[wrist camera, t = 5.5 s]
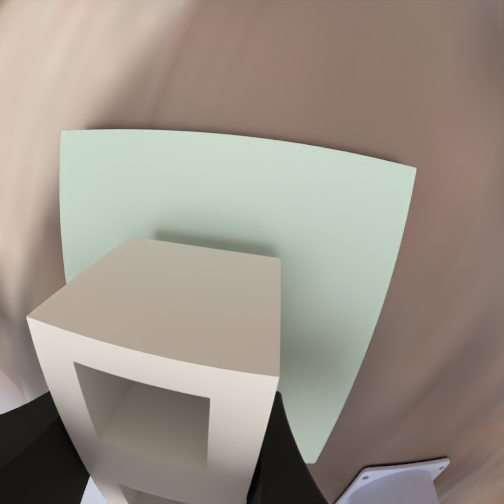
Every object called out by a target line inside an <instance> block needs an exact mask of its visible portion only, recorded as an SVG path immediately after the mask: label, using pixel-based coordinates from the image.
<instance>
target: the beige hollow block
mask: <svg viewBox="0 0 504 504" xmlns="http://www.w3.org/2000/svg"><path fill="white" fill-rule="evenodd" d="M26 317H27V321H28V325H29V328H30V332H31V336H32V339H33V343H34V346H35V349H36V353H37V356H38V359H39V362H40V365H41V368H42V371H43V374H44V376H45V379H46V382H47V385H48V387H49V390H50V393H51V395H52V398H53V400H54V403H55V405H56V407H57V410H58V412H59V414H60V417H61V419H62V421H63V423H64V426H65V428H66V430H67V432H68V434H69V436H70V438H71V440H72V442H73V444H74V446H75V448H76V450H77V452H78V454H79V456H80V458H81V460H82V462H83V463H84V465H85V467H86V469H87V471H88V472H89V474H90V476H91V477H92V479H93V481H94V483H95V484H96V486H97V487H98V489H99V491H100V492H101V494H102V495H103V497H104V499H105V500H106V502H107V503H108V504H244V503H245V500H246V497H247V493H248V490H249V487H250V484H251V480H252V477H253V474H254V470H255V467H256V463H257V460H258V456H259V453H260V449H261V446H262V442H263V439H264V435H265V431H266V428H267V424H268V420H269V416H270V413H271V409H272V405H273V401H274V397H275V393H276V389H277V385H278V381H279V375H280V319H281V258H275V257H268V256H261V255H254V254H247V253H240V252H233V251H226V250H219V249H213V248H206V247H199V246H192V245H185V244H178V243H171V242H165V241H158V240H151V239H144V238H137V237H130V238H129V239H128V240H126V241H125V242H123V243H122V244H120V245H119V246H118V247H116V248H115V249H113V250H112V251H111V252H109V253H108V254H106V255H105V256H104V257H102V258H101V259H100V260H98V261H97V262H95V263H94V264H93V265H91V266H90V267H89V268H87V269H86V270H85V271H83V272H82V273H81V274H79V275H78V276H77V277H75V278H74V279H73V280H71V281H70V282H69V283H67V284H66V285H65V286H64V287H62V288H61V289H60V290H58V291H57V292H56V293H55V294H53V295H52V296H51V297H50V298H48V299H47V300H46V301H45V302H43V303H42V304H41V305H40V306H38V307H37V308H36V309H35V310H33V311H32V312H31V313H30V314H29V315H27V316H26Z"/></svg>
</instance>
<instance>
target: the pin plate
mask: <svg viewBox="0 0 504 504" xmlns="http://www.w3.org/2000/svg"><path fill="white" fill-rule="evenodd" d="M415 174H416V168H414V167H410V166H406V165H402V164H398V163H394V162H390V161H386V160H381V159H377V158H373V157H368V156H363V155H359V154H354V153H349V152H344V151H339V150H334V149H328V148H323V147H317V146H311V145H305V144H299V143H292V142H285V141H278V140H271V139H263V138H255V137H246V136H237V135H227V134H216V133H203V132H188V131H169V130H136V129H104V130H72V131H61V147H60V221H61V237H62V250H63V260H64V269H65V277H66V284H67V283H69V282H70V281H71V280H73V279H74V278H75V277H77V276H78V275H79V274H81V273H82V272H83V271H85V270H86V269H87V268H89V267H90V266H91V265H93V264H94V263H95V262H97V261H98V260H100V259H101V258H102V257H104V256H105V255H106V254H108V253H109V252H111V251H112V250H113V249H115V248H116V247H118V246H119V245H120V244H122V243H123V242H125V241H126V240H128V239H129V238H130V237H137V238H144V239H151V240H158V241H165V242H171V243H178V244H185V245H192V246H199V247H206V248H213V249H219V250H226V251H233V252H240V253H247V254H254V255H261V256H268V257H275V258H281V319H280V375H279V381H278V385H277V389H276V391H279V392H280V393H281V394H282V400H283V405H284V409H285V412H286V416H287V419H288V422H289V425H290V428H291V431H292V434H293V436H294V439H295V441H296V444H297V446H298V449H299V451H300V453H301V456H302V458H303V460H304V462H305V463H315V462H316V460H317V458H318V456H319V455H320V453H321V451H322V449H323V447H324V445H325V443H326V441H327V439H328V437H329V435H330V433H331V431H332V429H333V427H334V425H335V423H336V421H337V419H338V417H339V415H340V412H341V410H342V408H343V406H344V404H345V401H346V399H347V397H348V395H349V392H350V390H351V388H352V385H353V383H354V381H355V378H356V376H357V374H358V371H359V369H360V366H361V364H362V361H363V359H364V356H365V353H366V351H367V348H368V346H369V343H370V340H371V337H372V335H373V332H374V329H375V326H376V323H377V321H378V318H379V315H380V312H381V309H382V306H383V302H384V299H385V296H386V293H387V290H388V287H389V283H390V280H391V276H392V273H393V269H394V266H395V262H396V259H397V255H398V251H399V247H400V243H401V240H402V235H403V231H404V227H405V223H406V218H407V214H408V209H409V205H410V200H411V195H412V190H413V185H414V179H415Z"/></svg>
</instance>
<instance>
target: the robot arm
mask: <svg viewBox="0 0 504 504" xmlns="http://www.w3.org/2000/svg"><path fill="white" fill-rule="evenodd" d="M449 463H450V460H449V458H445V459H439V460H433V461H427V462H420V463H413V464H404V465H395V466H384V467H370V468H365V469H363V470H362V471H361V472H360V474H359V475H358V476H357V478H356V479H355V480H354V481H353V483H352V484H351V485H350V486H349V488H348V489H347V490H346V491H345V493H344V494H343V495H342V496H341V497H340V498H339V500H338V501H337V502H336V503H335V504H439V501H438V497H437V494H436V490H435V487H434V484H433V480H434V479H435V478H436V477H437V476H438V475H439V474H440V473H441V472H442V471H443V470H444V469H445V468H446V467H447V466H448V464H449ZM89 477H90V474H89V472H88V471H87V469H86V467H85V465H84V463H83V462H82V460H81V458H80V456H79V454H78V452H77V450H76V448H75V446H74V444H73V442H72V440H71V438H70V436H69V434H68V432H67V430H66V428H65V426H64V423H63V421H62V419H61V417H60V414H59V412H58V410H57V407H56V405H55V403H54V400H53V398H52V395H51V393H50V391H48V392H47V393H45V394H43V395H42V396H40V397H38V398H36V399H35V400H33V401H31V402H29V403H27V404H25V405H23V406H21V407H18V408H16V409H14V410H11V411H9V412H6V413H4V414H1V415H0V504H80V503H81V500H82V497H83V494H84V491H85V488H86V485H87V483H88V480H89ZM247 504H328V502H327V501H326V499H325V498H324V496H323V495H322V493H321V492H320V490H319V488H318V487H317V485H316V483H315V481H314V480H313V478H312V476H311V474H310V472H309V470H308V468H307V466H306V464H305V462H304V460H303V458H302V456H301V453H300V451H299V449H298V446H297V444H296V441H295V439H294V436H293V434H292V431H291V428H290V425H289V422H288V419H287V416H286V412H285V409H284V405H283V400H282V394H281V393H280V392H279V391H276V393H275V397H274V401H273V405H272V409H271V413H270V416H269V420H268V424H267V428H266V431H265V435H264V439H263V442H262V446H261V449H260V453H259V456H258V460H257V463H256V467H255V470H254V474H253V477H252V480H251V484H250V487H249V490H248V493H247Z"/></svg>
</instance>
